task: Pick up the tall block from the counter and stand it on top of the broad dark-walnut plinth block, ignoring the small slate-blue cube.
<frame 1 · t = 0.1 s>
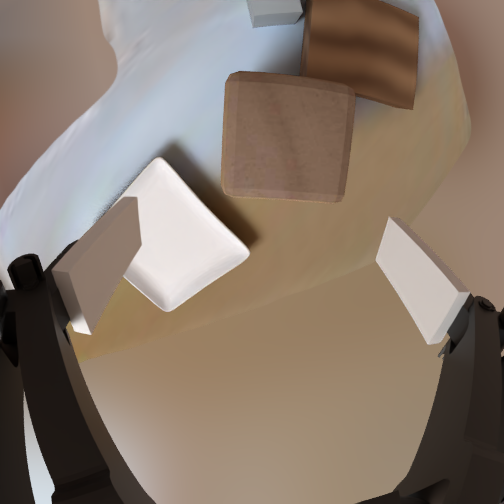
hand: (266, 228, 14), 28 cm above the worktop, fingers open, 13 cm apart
plinth: (355, 47, 29), on the worktop
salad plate: (166, 236, 45), on the worktop
slate cube: (270, 9, 27), on the worktop
block: (267, 130, 36), on the worktop
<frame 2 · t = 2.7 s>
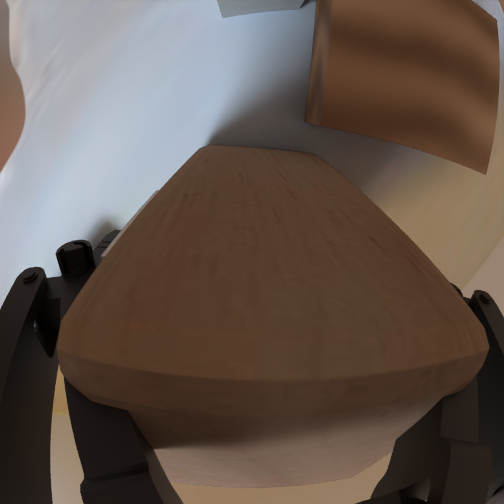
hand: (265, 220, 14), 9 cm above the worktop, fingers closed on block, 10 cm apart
plinth: (402, 57, 16), on the worktop
block: (255, 203, 23), on the worktop, touching gripper
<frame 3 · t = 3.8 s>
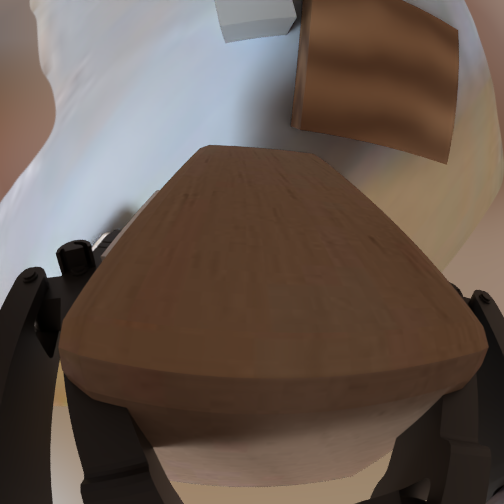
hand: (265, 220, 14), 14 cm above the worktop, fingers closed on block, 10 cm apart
plinth: (372, 70, 22), on the worktop
slate cube: (250, 14, 19), on the worktop
block: (255, 203, 23), point 5 cm above the worktop, touching gripper
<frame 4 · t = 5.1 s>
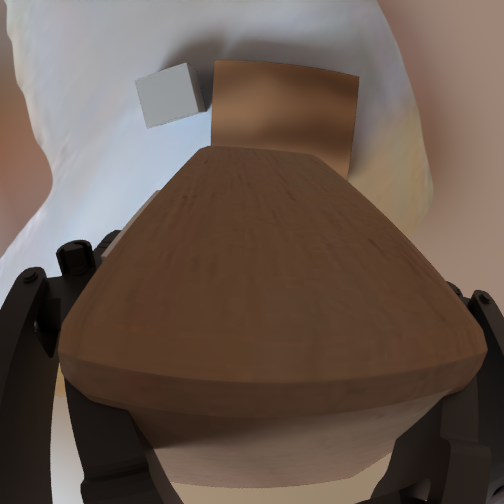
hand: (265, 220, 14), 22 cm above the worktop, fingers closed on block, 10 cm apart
plinth: (279, 129, 32), on the worktop
slate cube: (178, 96, 30), on the worktop
block: (255, 204, 23), point 13 cm above the worktop, touching gripper
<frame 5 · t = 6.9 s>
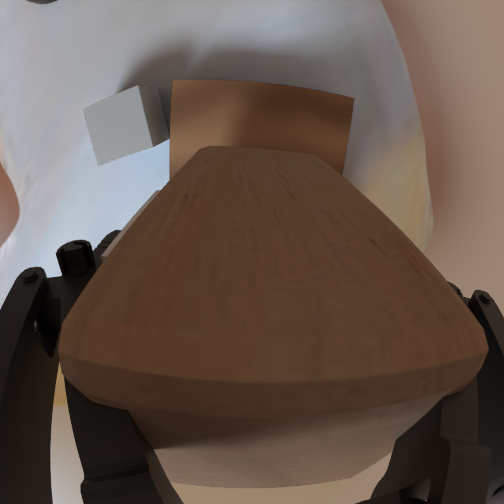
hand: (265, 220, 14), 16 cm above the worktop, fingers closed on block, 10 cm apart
plinth: (255, 159, 28), on the worktop
slate cube: (139, 120, 26), on the worktop
block: (255, 203, 23), point 7 cm above the worktop, touching gripper
when the fingers open (15 cm above the worktop, at t = 7.7 s): block drops 1 cm, resting on plinth.
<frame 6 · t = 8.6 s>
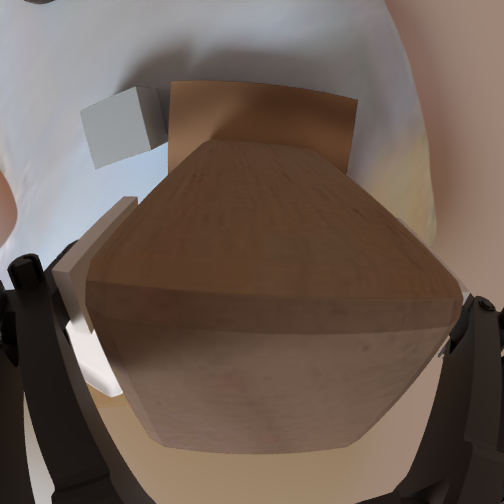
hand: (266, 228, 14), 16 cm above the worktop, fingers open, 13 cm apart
plinth: (256, 162, 28), on the worktop
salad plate: (96, 346, 44), on the worktop
slate cube: (137, 123, 25), on the worktop
block: (254, 195, 25), point 5 cm above the worktop, touching plinth
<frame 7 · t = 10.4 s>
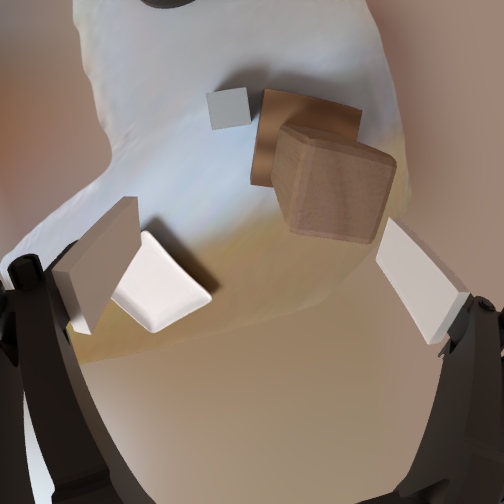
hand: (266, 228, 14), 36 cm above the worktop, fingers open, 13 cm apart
plinth: (301, 141, 45), on the worktop
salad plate: (152, 280, 60), on the worktop
slate cube: (230, 108, 42), on the worktop
block: (304, 157, 42), point 5 cm above the worktop, touching plinth
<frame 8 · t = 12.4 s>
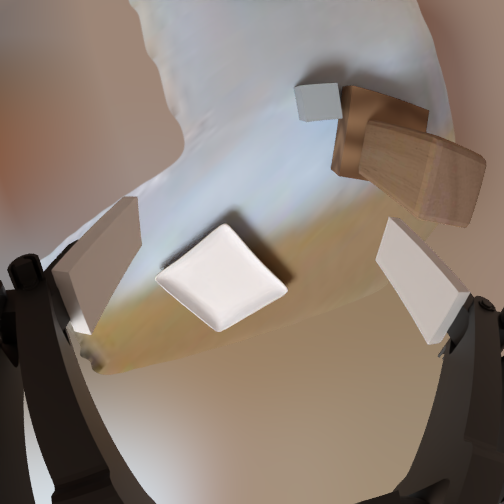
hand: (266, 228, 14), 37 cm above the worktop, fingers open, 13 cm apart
plinth: (375, 136, 45), on the worktop
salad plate: (221, 276, 61), on the worktop
slate cube: (313, 101, 42), on the worktop
block: (384, 151, 41), point 5 cm above the worktop, touching plinth
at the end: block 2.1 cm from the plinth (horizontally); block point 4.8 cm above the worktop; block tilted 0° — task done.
